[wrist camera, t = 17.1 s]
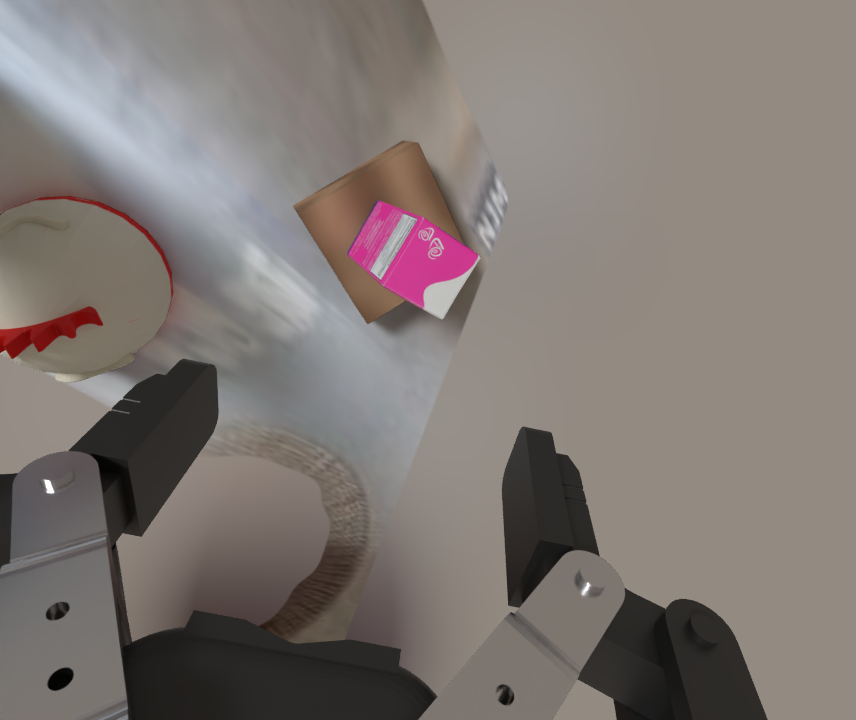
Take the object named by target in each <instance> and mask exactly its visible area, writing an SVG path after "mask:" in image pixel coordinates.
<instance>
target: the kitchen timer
mask: <svg viewBox="0 0 856 720" xmlns="http://www.w3.org/2000/svg"><path fill="white" fill-rule="evenodd" d="M172 296H173V285H172V272H171V270H170V267H169V265H168V262H167V260H166V258H165V255H164V253H163V250H162V249H161V248H160V247H159V245H158V244H157V243H156V242H155V240H154V239H153V238H152V236H151V235H150V234H149V233H148V231H147V230H145V229H144V228H143V227H142V226H140V225H139V224H138V223H136V222H135V221H134V220H132V219H131V218H130V217H129V216H127V215H126V214H124V213H122V212H120V211H118V210H116V209H113V208H111V207H109V206H107V205H105V204H102V203H100V202H97V201H92V200H86V199H81V198H76V197H71V196H64V197H45V198H39V199H36V200H33V201H30V202H27V203H24V204H21V205H18V206H15V207H13V208H10V209H8V210H6V211H5V212H4V213H3V214H1V215H0V354H1V355H3V356H5V357H7V358H8V359H10V360H12V361H14V362H16V363H18V364H20V365H22V366H26V367H29V368H33V369H36V370H39V371H43V372H52V373H56V380H57V381H60V382H66V383H69V382H77V381H82V380H85V379H88V378H90V377H93V376H96V375H99V374H102V373H105V372H108V371H111V370H115V369H118V368H121V367H124V366H126V365H128V364H129V363H131V362H132V361H133V360H134V359H135V356H134V355H133V354H134V353H135V352H137V351H138V350H139V349H141V348H142V347H143V346H145V345H146V344H147V343H148V342H150V341H151V340H152V339H153V338H154V336H155V335H156V333H157V332H158V330H159V329H160V327H161V326H162V324H163V323H164V321H165V320H166V318H167V315H168V311H169V307H170V303H171V300H172Z"/></svg>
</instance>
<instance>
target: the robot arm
mask: <svg viewBox="0 0 856 720" xmlns="http://www.w3.org/2000/svg"><path fill="white" fill-rule="evenodd" d="M217 420H218V390H217V371H216V368H215V366H214V365H212V364H207V363H202V362H197V361H192V360H187V359H182V360H180V361H179V362H178V363H177V364H176V365H175V366H174V367H173V368H172V369H171V370H170V371H169V372H168V374H167V375H166V376H165V375H160V374H156V375H154V376H152V377H150V378H148V379H146V380H144V381H142V382H140V383H138V384H136V385H135V386H134V387H133V388H132V389H131V390H130V391H129V392H128V393H127V394H126V395H125V396H124V397H123V400H120V401H119V402H118V403H117V404H116V405H115V406H114V407H113V408H112V410H111V411H109V412H108V413H107V414H106V415H105V416H103V418H101V419H100V420H99V421H98V422H97V423H96V424H95V425H94V426H93V427H92V428H91V429H90V430H89V431H88V432H87V433H86V434H85V435H84V436H83V437H82V438H81V439H80V440H79V441H78V442H77V443H76V444H75V445H74V446H73V447H72V448H71V449H70V450H69V451H64V452H58V453H53V454H49V455H46V456H43V457H41V458H38V459H36V460H34V461H33V462H31V463H29V464H28V465H27V466H25V467H24V468H23V469H22V470H21V471H20V472H19V473H15V474H0V720H552V719H553V718H554V716H555V715H556V713H557V711H558V709H559V708H560V706H561V705H562V703H563V702H564V700H565V698H566V697H567V695H568V693H569V692H570V690H571V689H572V687H573V685H574V684H575V682H576V680H577V679H578V680H580V681H582V682H584V683H586V684H588V685H589V686H591V687H593V688H595V689H596V690H598V691H600V692H602V693H604V694H605V695H607V696H609V697H611V698H613V699H614V705H615V711H616V717H617V720H767V717H766V714H765V712H764V709H763V707H762V704H761V701H760V699H759V696H758V694H757V691H756V689H755V686H754V683H753V681H752V678H751V676H750V673H749V671H748V668H747V665H746V663H745V660H744V658H743V655H742V652H741V650H740V647H739V645H738V642H737V640H736V638H735V635H734V634H733V632H732V631H731V629H730V628H729V626H728V625H727V624H726V623H725V622H724V620H723V619H722V618H721V617H720V616H718V615H717V614H716V613H715V612H714V611H712V610H711V609H709V608H708V607H706V606H705V605H703V604H701V603H698V602H696V601H693V600H687V599H679V600H675V601H673V602H672V603H670V605H669V606H668V607H667V608H666V609H665V608H663V607H661V606H659V605H657V604H655V603H652V602H651V601H648V600H646V599H644V598H642V597H640V596H638V595H636V594H634V593H632V592H631V591H629V590H627V589H626V588H624V585H623V582H622V580H621V578H620V576H619V575H618V573H617V572H616V570H615V569H614V568H613V567H612V566H611V565H610V564H609V563H608V562H607V561H605V560H604V559H603V558H601V557H600V556H599V551H598V547H597V543H596V539H595V535H594V531H593V527H592V522H591V518H590V515H589V510H588V506H587V505H586V498H585V494H584V491H583V485H582V481H581V477H580V473H579V471H578V469H577V468H576V466H575V465H574V464H573V462H572V461H571V460H570V458H569V456H567V455H563V454H557V453H556V451H555V446H554V441H553V436H552V433H551V432H547V431H542V430H537V429H532V428H528V427H522V428H521V429H520V431H519V434H518V436H517V439H516V442H515V444H514V447H513V450H512V452H511V455H510V458H509V460H508V463H507V466H506V469H505V472H504V477H503V484H502V501H503V519H504V536H505V554H506V571H507V572H506V573H507V589H508V605H509V606H514V607H519V609H518V610H517V611H516V612H515V613H514V614H513V613H512V612H511V613H509V614H508V615H507V616H506V617H505V618H504V619H503V621H502V622H501V623H500V624H499V625H498V626H497V627H496V629H495V630H494V631H493V632H492V633H491V634H490V636H489V637H488V638H487V639H486V641H485V642H484V643H483V644H482V645H481V646H480V647H479V649H478V650H477V651H476V652H475V653H474V655H473V656H472V657H471V658H470V659H469V660H468V662H467V663H466V664H465V665H464V666H463V668H462V669H461V670H460V671H459V672H458V673H457V675H456V676H455V677H454V678H453V679H452V680H451V682H450V683H449V684H448V685H447V686H446V688H445V689H444V690H443V691H442V692H441V694H440V695H439V696H438V697H437V695H436V694H435V693H434V692H433V691H432V690H431V689H430V688H429V686H427V685H426V684H425V683H424V682H423V681H422V680H421V679H419V678H418V677H417V676H415V675H414V674H412V673H411V672H410V671H408V670H406V669H404V668H402V667H400V666H399V660H400V652H401V649H397V648H391V647H386V646H381V645H376V644H371V643H365V642H360V641H354V640H340V641H328V642H315V643H302V644H295V643H291V642H288V641H286V640H284V639H282V638H280V637H278V636H276V635H274V634H272V633H270V632H268V631H266V630H264V629H262V628H260V627H258V626H256V625H254V624H252V623H251V622H248V621H247V620H243V619H238V618H233V617H228V616H222V615H217V614H212V613H206V612H201V611H195V610H194V611H193V613H192V615H191V617H190V619H189V621H188V623H187V625H186V627H179V628H174V629H168V630H164V631H160V632H157V633H154V634H151V635H148V636H146V637H143V638H141V639H138V640H136V641H134V642H132V638H131V633H130V628H129V622H128V616H127V610H126V603H125V596H124V589H123V582H122V576H121V569H120V562H119V555H118V550H117V545H116V541H117V540H118V538H119V537H120V536H121V534H122V533H125V534H130V535H135V536H141V537H142V535H143V534H144V532H145V531H146V529H147V528H148V526H149V525H150V524H151V522H152V521H153V519H154V518H155V516H156V515H157V513H158V512H159V510H160V509H161V507H162V506H163V505H164V503H165V502H166V500H167V499H168V498H169V496H170V495H171V493H172V492H173V490H174V489H175V487H176V486H177V485H178V483H179V482H180V480H181V479H182V477H183V476H184V474H185V473H186V472H187V470H188V469H189V467H190V466H191V464H192V463H193V461H194V460H195V459H196V457H197V456H198V454H199V453H200V451H201V450H202V448H203V447H204V446H205V444H206V443H207V441H208V440H209V438H210V437H211V435H212V434H213V432H214V430H215V427H216V424H217Z"/></svg>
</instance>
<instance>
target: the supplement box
mask: <svg viewBox="0 0 856 720" xmlns="http://www.w3.org/2000/svg"><path fill="white" fill-rule="evenodd" d="M347 255H348V256H349V257H350V258H351V259H353V260H354V261H355V262H356V263H357V264H358V265H359V266H360V267H362V268H363V269H364V270H365V271H366V272H367V273H368V274H369V275H371V276H372V277H373V278H374V279H375V280H376V281H377V282H378V283H380V284H381V285H382V286H383V287H384V288H386V289H387V290H389V291H391V292H392V293H394V294H396V295H398V296H399V297H401V298H403V299H405V300H406V301H408V302H410V303H412V304H414V305H415V306H417V307H419V308H421V309H423V310H424V311H426V312H428V313H430V314H432V315H433V316H435V317H437V318H439V319H441V320H442V319H443V318H444V317H445V315H446V313H447V311H448V310H449V308H450V306H451V305H452V303H453V301H454V300H455V298H456V296H457V295H458V293H459V291H460V290H461V288H462V286H463V285H464V283H465V282H466V280H467V279H468V277H469V275H470V274H471V272H472V271H473V269H474V267H475V266H476V264H477V262H478V261H479V259H480V256H479V255H478V254H477V253H475V252H474V251H473V250H471V249H470V248H468V247H467V246H465V245H464V244H462V243H461V242H459V241H458V240H456V239H455V238H454V237H452V236H451V235H449V234H448V233H446V232H445V231H443V230H442V229H440V228H439V227H437V226H436V225H434V224H433V223H431V222H430V221H429V220H427V219H426V218H424V217H421V216H419V215H416V214H413V213H411V212H408V211H406V210H403V209H400V208H398V207H395V206H393V205H390V204H388V203H385V202H382V201H380V200H378V201H377V202H376V204H375V206H374V208H373V209H372V211H371V213H370V214H369V216H368V218H367V220H366V221H365V223H364V225H363V226H362V228H361V230H360V232H359V233H358V235H357V237H356V238H355V240H354V242H353V244H352V245H351V247H350V249H349V251H348V253H347Z"/></svg>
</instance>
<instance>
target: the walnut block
mask: <svg viewBox="0 0 856 720" xmlns="http://www.w3.org/2000/svg"><path fill="white" fill-rule="evenodd" d="M378 200H380V201H382V202H385V203H388V204H390V205H393V206H395V207H398V208H400V209H403V210H406V211H408V212H411V213H413V214H416V215H419V216H421V217H424V218H426V219H427V220H429V221H430V222H431V223H433V224H434V225H436V226H437V227H439V228H440V229H442V230H443V231H445V232H446V233H448V234H449V235H451V236H452V237H454V238H455V239H456V240H458V241H459V242H461V243H462V244H463V241H462V239H461V237H460V235H459V232H458V230H457V228H456V226H455V223H454V221H453V219H452V217H451V214H450V212H449V210H448V208H447V206H446V203H445V201H444V199H443V197H442V194H441V192H440V190H439V188H438V185H437V183H436V181H435V179H434V176H433V174H432V172H431V170H430V167H429V165H428V163H427V161H426V158H425V156H424V154H423V152H422V149H421V147H420V145H419V143H416V142H409V141H402V142H400V143H398V144H397V145H395V146H393V147H391V148H390V149H388V150H386V151H385V152H383V153H381V154H380V155H378V156H376V157H375V158H373V159H371V160H369V161H368V162H366V163H364V164H363V165H361V166H359V167H358V168H356V169H354V170H353V171H351V172H349V173H348V174H346V175H344V176H342V177H341V178H339V179H337V180H336V181H334V182H332V183H331V184H329V185H327V186H326V187H324V188H322V189H321V190H319V191H317V192H315V193H314V194H312V195H310V196H309V197H307V198H305V199H304V200H302V201H300V202H299V203H297V204H295V205H294V206H293V207H294V209H295V210H296V212H297V213H298V215H299V217H300V218H301V220H302V221H303V223H304V225H305V226H306V228H307V229H308V231H309V233H310V234H311V236H312V237H313V239H314V241H315V242H316V244H317V245H318V247H319V249H320V250H321V252H322V253H323V255H324V257H325V258H326V260H327V261H328V263H329V265H330V266H331V268H332V269H333V271H334V273H335V274H336V276H337V277H338V279H339V281H340V282H341V284H342V285H343V287H344V289H345V290H346V292H347V293H348V295H349V297H350V298H351V300H352V301H353V303H354V305H355V306H356V308H357V309H358V311H359V312H360V314H361V315H362V317H363V318H364V320H365V321H366V323H367V324H369V323H371V322H372V321H374V320H375V319H377V318H379V317H380V316H382V315H383V314H385V313H387V312H388V311H390V310H391V309H393V308H395V307H396V306H398V305H400V304H401V303H403V302H404V301H406V300H405V299H403V298H401V297H399V296H398V295H396V294H394V293H392V292H391V291H389V290H387V289H386V288H384V287H383V286H382V285H381V284H380V283H378V282H377V281H376V280H375V279H374V278H373V277H372V276H371V275H369V274H368V273H367V272H366V271H365V270H364V269H363V268H362V267H360V266H359V265H358V264H357V263H356V262H355V261H354V260H353V259H351V258H350V257H349V256H348V255H347V253H348V251H349V249H350V247H351V245H352V244H353V242H354V240H355V238H356V237H357V235H358V233H359V232H360V230H361V228H362V226H363V225H364V223H365V221H366V220H367V218H368V216H369V214H370V213H371V211H372V209H373V208H374V206H375V204H376V202H377V201H378Z"/></svg>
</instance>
